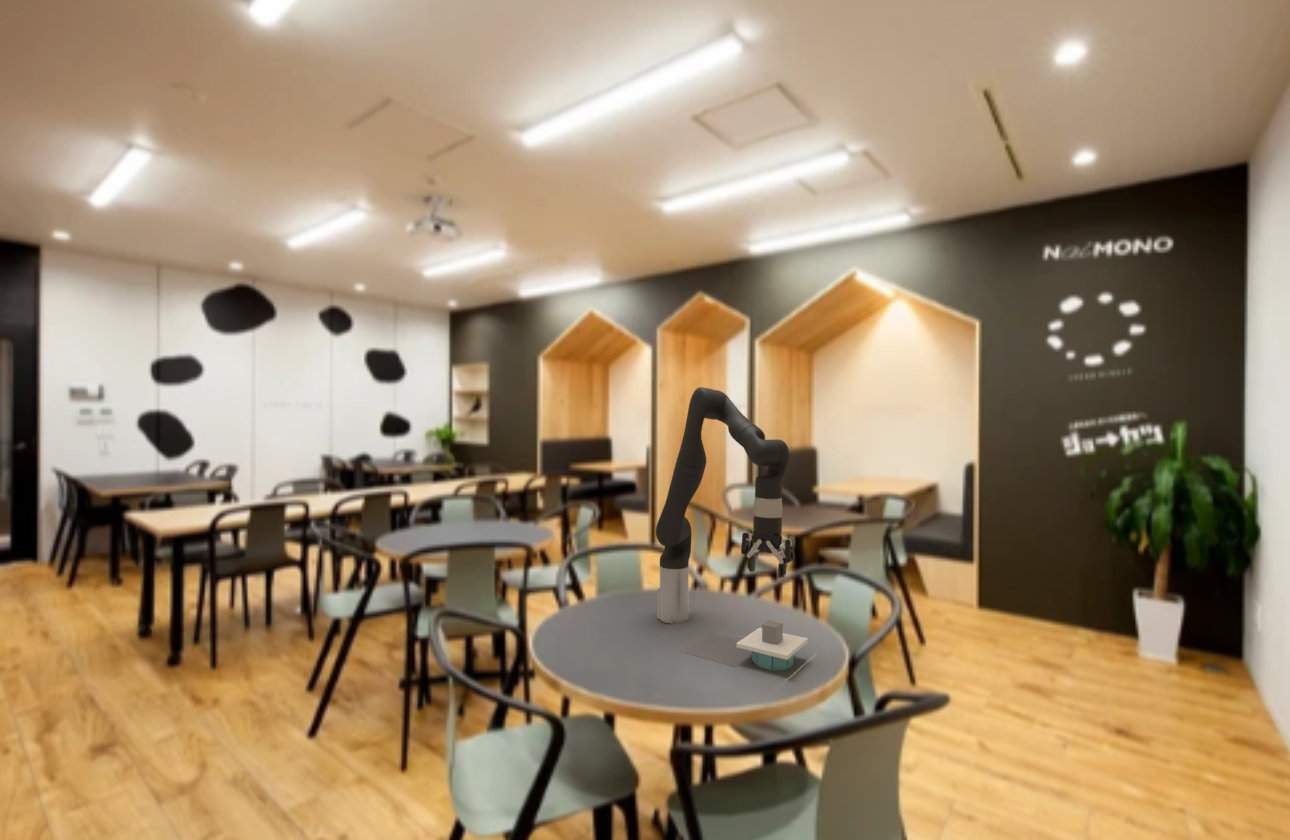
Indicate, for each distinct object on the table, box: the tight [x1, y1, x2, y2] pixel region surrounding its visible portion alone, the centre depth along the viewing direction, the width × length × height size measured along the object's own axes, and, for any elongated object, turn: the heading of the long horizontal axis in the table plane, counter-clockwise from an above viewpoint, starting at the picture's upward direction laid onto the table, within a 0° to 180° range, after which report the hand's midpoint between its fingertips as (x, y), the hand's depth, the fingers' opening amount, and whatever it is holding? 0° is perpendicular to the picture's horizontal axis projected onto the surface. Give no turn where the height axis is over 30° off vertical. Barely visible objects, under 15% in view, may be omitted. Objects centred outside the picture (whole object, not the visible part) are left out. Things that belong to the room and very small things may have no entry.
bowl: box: [751, 651, 795, 671], centre depth 160 cm, size 10×10×5 cm
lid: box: [736, 619, 809, 660], centre depth 160 cm, size 14×14×6 cm
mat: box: [679, 633, 752, 668], centre depth 169 cm, size 17×17×1 cm
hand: (766, 574), depth 163 cm, fingers open, 8 cm apart
